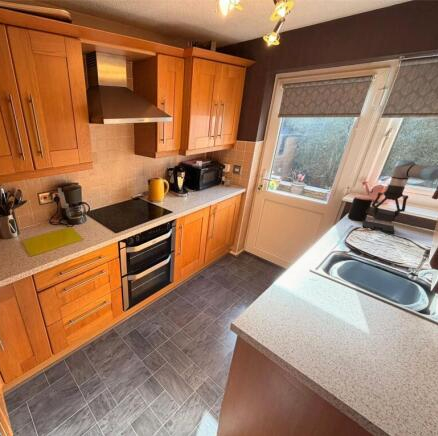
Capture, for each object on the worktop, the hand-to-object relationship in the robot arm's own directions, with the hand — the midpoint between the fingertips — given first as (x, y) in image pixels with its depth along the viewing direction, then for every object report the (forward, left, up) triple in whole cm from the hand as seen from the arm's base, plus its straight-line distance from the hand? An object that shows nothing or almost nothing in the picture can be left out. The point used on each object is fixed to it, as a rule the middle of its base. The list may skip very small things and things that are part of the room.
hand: (383, 218), depth 152 cm
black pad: (+2, 0, 0) cm, 2 cm away
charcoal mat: (+11, 0, -10) cm, 15 cm away
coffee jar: (+24, +12, -11) cm, 29 cm away
